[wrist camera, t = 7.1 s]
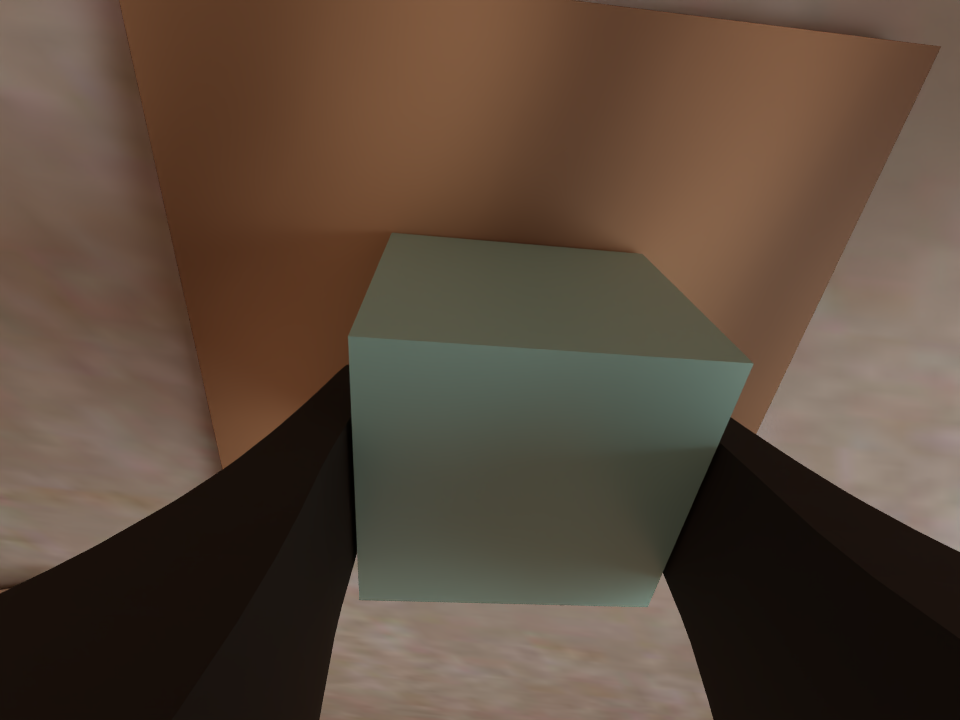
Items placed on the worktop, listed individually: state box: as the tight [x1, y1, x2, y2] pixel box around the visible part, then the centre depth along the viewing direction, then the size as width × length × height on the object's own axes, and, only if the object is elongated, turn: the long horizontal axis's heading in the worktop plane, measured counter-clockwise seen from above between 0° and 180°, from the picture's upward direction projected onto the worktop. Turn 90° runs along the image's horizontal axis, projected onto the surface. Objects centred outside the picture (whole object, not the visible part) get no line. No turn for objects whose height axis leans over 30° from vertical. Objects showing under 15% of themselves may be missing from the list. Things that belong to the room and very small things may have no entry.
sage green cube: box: [348, 233, 754, 607], centre depth 9 cm, size 5×5×4 cm
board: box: [119, 0, 941, 469], centre depth 12 cm, size 14×14×1 cm
